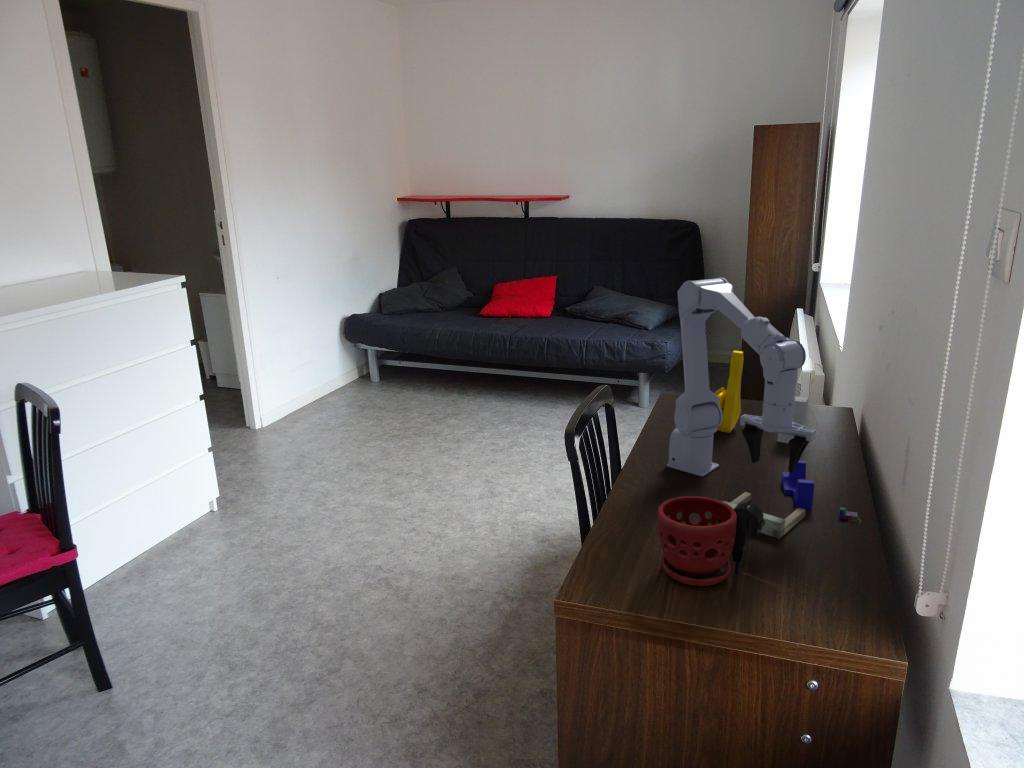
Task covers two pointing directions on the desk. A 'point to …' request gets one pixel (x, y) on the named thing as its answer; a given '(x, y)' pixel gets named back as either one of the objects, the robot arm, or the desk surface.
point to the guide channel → (772, 518)
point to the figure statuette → (731, 394)
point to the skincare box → (797, 416)
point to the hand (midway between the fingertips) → (773, 466)
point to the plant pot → (696, 539)
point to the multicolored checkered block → (849, 516)
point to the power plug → (745, 530)
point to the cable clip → (799, 486)
